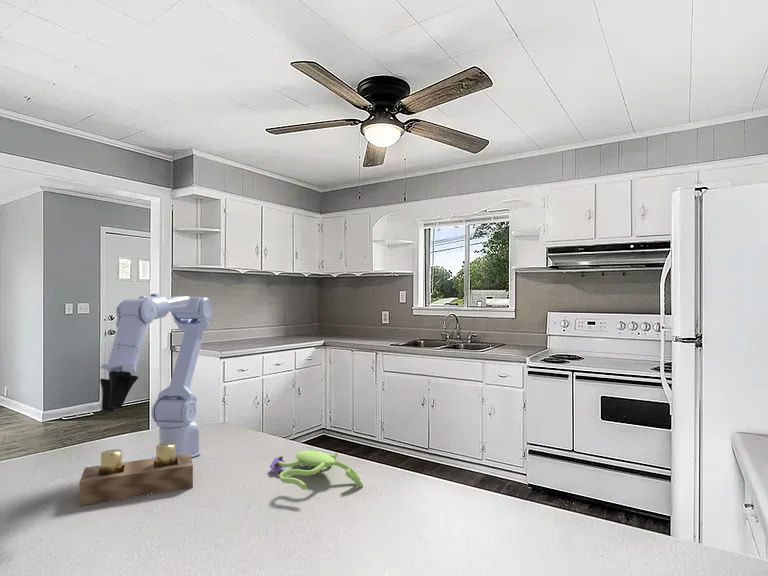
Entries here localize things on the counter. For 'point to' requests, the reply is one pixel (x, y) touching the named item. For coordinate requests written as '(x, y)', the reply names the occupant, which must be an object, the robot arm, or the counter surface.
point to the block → (135, 480)
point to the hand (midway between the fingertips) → (111, 409)
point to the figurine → (311, 459)
